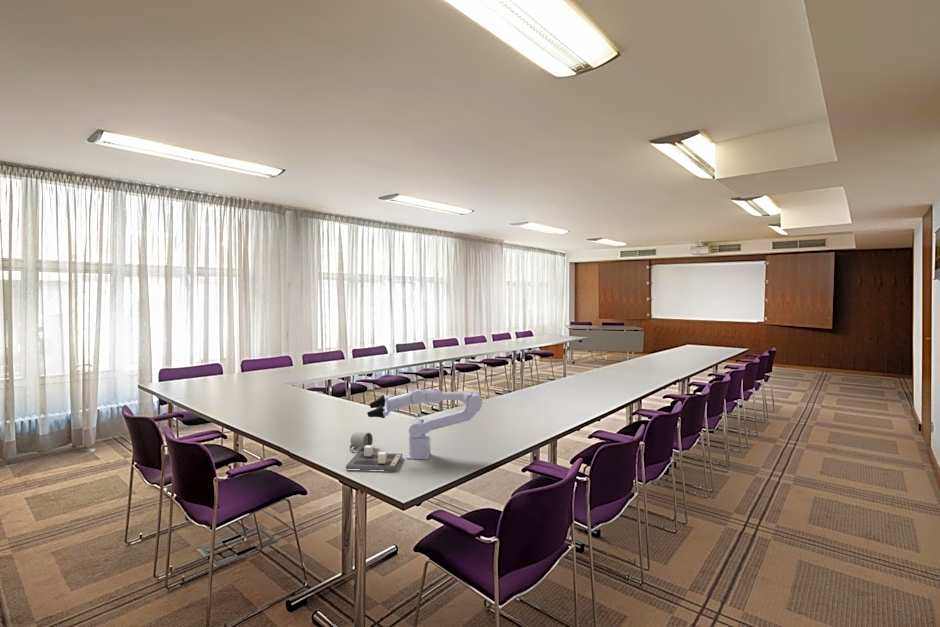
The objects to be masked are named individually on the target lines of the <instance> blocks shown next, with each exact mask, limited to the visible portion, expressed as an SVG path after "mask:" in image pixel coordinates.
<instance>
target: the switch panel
mask: <svg viewBox="0 0 940 627" xmlns="http://www.w3.org/2000/svg"><path fill="white" fill-rule="evenodd" d="M378 453H379V452H373V455H372V456H364V452H356V454H355V455H354V456H353V457H352V458H351V459H350V460H349V462H348V463H347V464H346V465H345V470H346V469H360V470H384V471H395V472H396V470H397V468H398V467H399V465H400V464H401V462H400V461H402V460H403V453H395V452H393V453H388V452H387V461H386V463H378ZM401 459H402V460H401ZM398 464H399V465H398ZM397 466H398V467H397Z"/></svg>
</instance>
